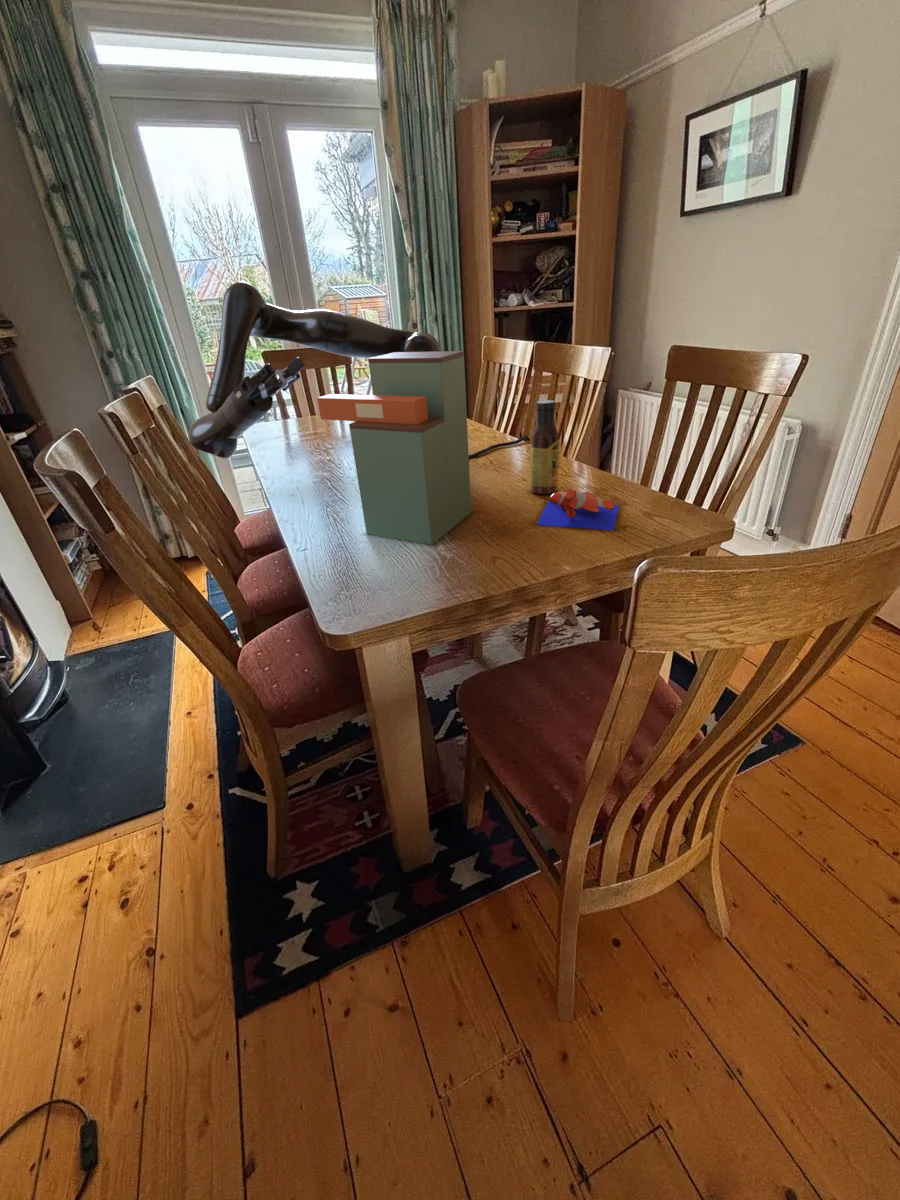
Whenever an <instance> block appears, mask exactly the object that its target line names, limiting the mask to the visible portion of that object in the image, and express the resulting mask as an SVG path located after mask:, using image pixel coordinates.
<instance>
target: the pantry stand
mask: <svg viewBox="0 0 900 1200" xmlns="http://www.w3.org/2000/svg"><path fill="white" fill-rule="evenodd" d="M464 352H465V351H463V350H451V351H450V350H448V351H447V350H445V351H443V350H442V351H441V350H440V351H439V352H393V353H389V354H385V355H381V356H376V357H372V358H367V361H368V367H369V368H368V369H369V375H370V383H371V390H372V391H371V392H372V395H388V396H423V397H427V409H428V420H426V421H424V422H422V423H420V424H417V425H414V424H396V423H378V422H360V421H352V422H351V423H349V424H348V427H349V433H350V438H351V446H352V451H353V458H354V464H355V471H356V476H357V483H358V488H359V489H358V490H359V496H360V502H361V506H362V514H363V520H364V527H365V532H366V535H371V536H375V537H376V536H378V537H382V538H388V539H394V540H400V541H406V542H411V543H412V542H413V543H417V544H424V545H431V546H432V545H433V544H435V543H436V542H437V541H438V540H439V539H441V538H442V537H443V536H445V535H446V534H447V533H449V532H450V531H451V530H453V529H454V528H455V527H456V526H457V525H459V524H460V523H461V522H462V521H463V520H464V519H466V518H467V517H468V516H469V515H471V514H472V497H471V496H472V495H471V478H470V477H471V476H470V474H471V473H470V459H469V455H470V453H469V438H468V437H469V435H468V432H469V431H468V415H467V393H466V373H465V372H466V371H465V353H464Z"/></svg>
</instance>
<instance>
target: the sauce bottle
mask: <svg viewBox="0 0 900 1200" xmlns="http://www.w3.org/2000/svg"><path fill="white" fill-rule="evenodd" d="M535 408H536V425H535V426H534V428H533V429H532V431H531V438H530V440H531V446H530V490H531V492H532V493H534V494H536V495H549V494H550V495H551V494H553V493H556V492H557V489H558V484H559V463H560V461H559V460H560V436H559V433H558V428H557V426H556V423H555V409H556V401H555V400H552V399H544V400H538V401H536V405H535Z"/></svg>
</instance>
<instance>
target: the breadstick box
mask: <svg viewBox="0 0 900 1200" xmlns="http://www.w3.org/2000/svg"><path fill="white" fill-rule="evenodd" d="M316 401H317V406H318V411H319V416H320V420H326V421H328V420H329V421H344V422H345V421H346V422H356V421H360V422H378V423H396V424H414V425H417V424H420V423H422V422H424V421H426V420H428V409H427V397H423V396H388V395H373V394H352V393H351V394H349V393H348V394H347V393H345V394H344V393H329V394H325V395H322V396H318V397H317V398H316Z"/></svg>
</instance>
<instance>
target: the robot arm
mask: <svg viewBox="0 0 900 1200" xmlns="http://www.w3.org/2000/svg"><path fill="white" fill-rule="evenodd" d="M222 300H223V301H222V313H221V326H220V332H219V333H220V335H219V342H218V347H217V348H218V349H217V355H216V360H215V364H214V369H213V374H212V377H211V380H210V384H209V389H208V393H207V396H206V400H205V407H206V409H207V410H208V411H209V412H210V413H208V414H206V415H204V416H201V417H199V418H198V419H197V420H195V421H194V422H193V423H192V424H191V426H190V428H189V430H188V434H187V435H188V441H189V443H190V445H191V446H192V447H193V448H194V449H196V450H198V451H200V452H203V453H207V454H210V455H212V456H214V457H217V458H221V459H225V460H226V459H229V458H231V457H232V456H233V455H234V454H235V453H236V451H237V448H238V438H239V437H241V436H243V434H244V433H246V431H247V430H248V429H250V428H251V427H253V426H254V425H255V424H257V422H258V421H260V420H261V419H262V418H263V417H264V416H265V415H266V414H267V413H268V412H269V411H270V410H271V409H272V408H273V405H274V398H273V397H274V396H276V395H278V394H279V392H280V391H281V390H282V391H283V392H285V391H288V389H289V388H290V387H292V386H293V384H295V383H296V382H297V381H298V380H299V379H300V378H301V375H300V371H302V370H303V369H304V368H305V363H304V361H303V359H302V358H301V357H299V356H297V357H294V359H293V360H291V362H290V363H289V364H288V365H287V366H285V367H284V368H282V369H281V370H280V369H276V370H275V369H274V367H273V365H272V364H271V363H265V364H264V365H262V367H261V368H260V370H258V371H257V372H254V373H253V374H252V375H251V377H250V376H249V375H247V376H246V358H247V350H248V344H249V340H250V337H252V338H258V339H259V338H261V339H269V340H276V341H284V342H289V343H293V344H296V345H300V346H303V347H306V348H312V349H316V350H320V351H323V352H327V353H330V354H334V355H339V356H343V357H350V358H360V359H368V358H372V357H376V356H381V355H385V354H389V353H393V352H439V351H441V346H440V344H439V342H438V340H437V339H436V338H435V337H434V336H433V335H432V334H430V333H427V332H423V331H411V330H404V329H397V328H391V327H387V326H384V325H381V324H378V323H376V322H373V321H370V320H367V319H365V318H361V317H359V316H354V315H351V314H348V313H344V312H340V311H336V310H332V309H326V308H312V309H305V310H291V309H286V308H283V307H279V306H276V305H273V304H270V303H268V302H266V301H265V299H264V297H263V295H262V294H261V292H260V291H259V290H258V289H257V288H256V287H255V286H254V285H253V284H251V283H250V282H246V281H237V282H234V283H232V284H230V286H228V288H227V289H226V290H225V293H224V295H223V299H222ZM277 376H278V378H277ZM524 440H525V441H527V442H530V441H531V442H532V439H531V438H530V437H529V436H527V435H524V436H520V437H519V438H518V439H516V440H512V441H507V442H501V443H495V444H493V445H490V446H488V447H486V448H483V449H480V450H478V451H476V452H474V453H472V454H469V460H470V459H473V458H476V457H478V456H480V455H483V454H486V453H487V452H489V451H491V450H495V449H498V448H502V447H507V446H514V445H517V444H520V443H521V442H522V441H524Z"/></svg>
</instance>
